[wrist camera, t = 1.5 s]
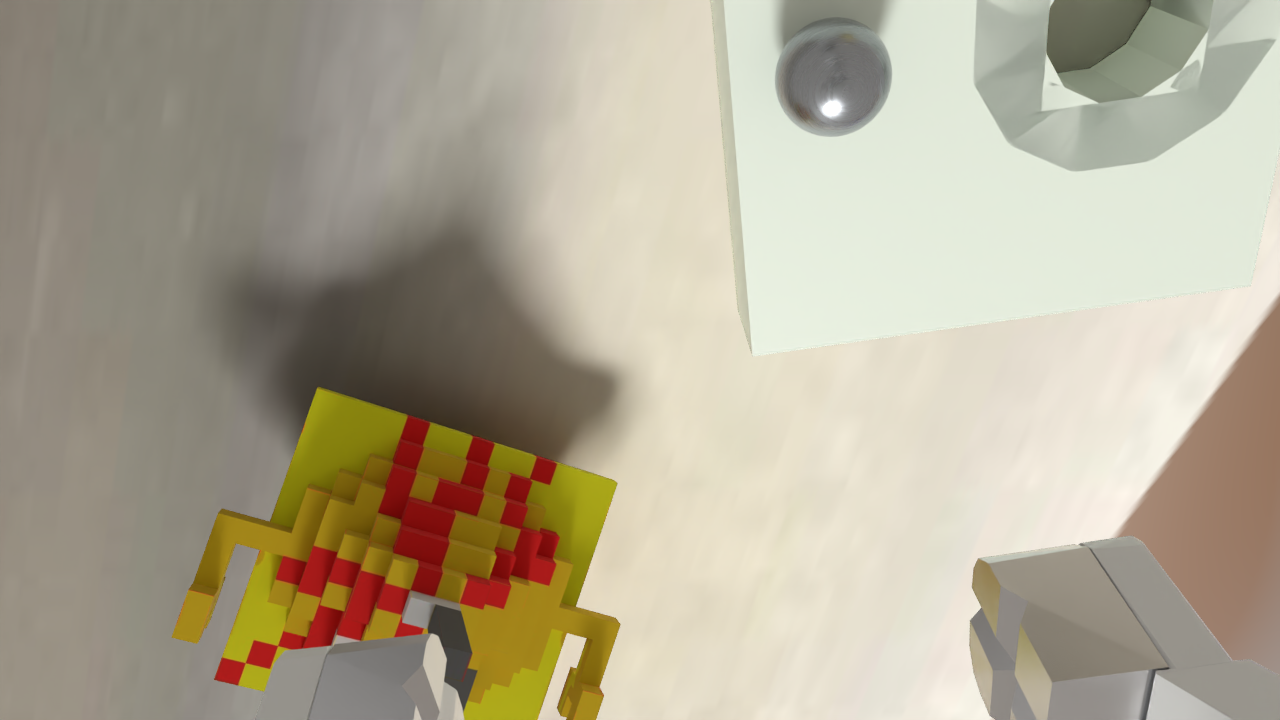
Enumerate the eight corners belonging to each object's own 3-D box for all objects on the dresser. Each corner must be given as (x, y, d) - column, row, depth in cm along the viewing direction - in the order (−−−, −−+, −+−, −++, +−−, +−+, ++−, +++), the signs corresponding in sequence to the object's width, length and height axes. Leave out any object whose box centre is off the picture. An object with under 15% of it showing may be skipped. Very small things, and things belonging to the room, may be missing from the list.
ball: (762, 14, 26) (783, 41, 24) (874, -2, 26) (907, 23, 24) (769, 124, 28) (789, 160, 25) (875, 109, 28) (906, 143, 25)
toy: (202, 606, 37) (89, 790, 23) (289, 363, 38) (232, 393, 23) (537, 690, 41) (622, 897, 26) (613, 467, 41) (738, 549, 27)
